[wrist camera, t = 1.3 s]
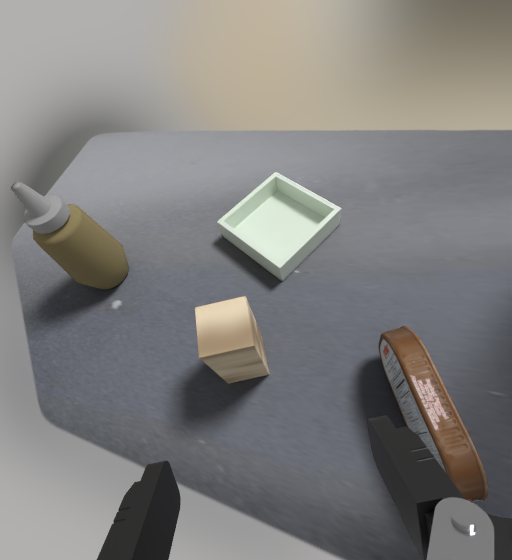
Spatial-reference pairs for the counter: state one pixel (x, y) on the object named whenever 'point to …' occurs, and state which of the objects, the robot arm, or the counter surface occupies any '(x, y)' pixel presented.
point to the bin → (280, 224)
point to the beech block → (231, 340)
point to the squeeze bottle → (73, 239)
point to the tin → (431, 410)
